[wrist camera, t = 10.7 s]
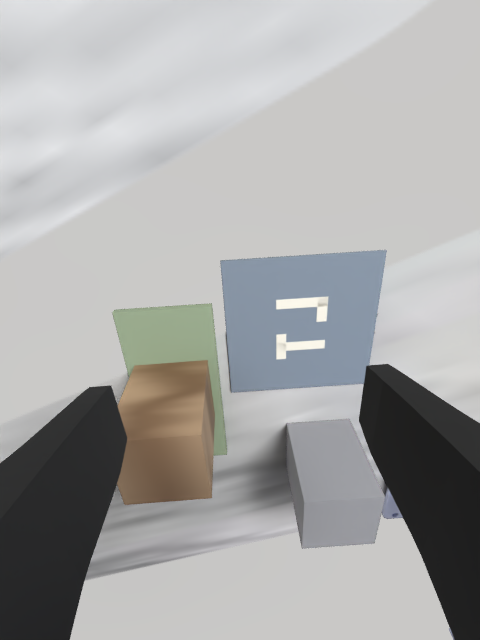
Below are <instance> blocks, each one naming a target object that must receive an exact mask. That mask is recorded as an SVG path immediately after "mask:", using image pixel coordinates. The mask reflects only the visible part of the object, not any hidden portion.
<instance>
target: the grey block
mask: <svg viewBox="0 0 480 640" xmlns="http://www.w3.org/2000/svg"><path fill="white" fill-rule="evenodd" d="M286 467H287V472H288V478H289V483H290V488H291V493H292V499H293V504H294V509H295V515H296V520H297V525H298V530H299V536H300V541H301V546H302V549H303V548H317V547H330V546H343V545H357V544H372V543H375V539H376V535H377V530H378V526H379V522H380V517H381V513H382V508H383V504H384V500H385V495H384V493H383V491H382V489H381V487H380V484H379V482H378V480H377V478H376V476H375V474H374V471H373V469H372V467H371V465H370V463H369V460H368V458H367V456H366V454H365V452H364V449H363V447H362V445H361V443H360V441H359V438H358V436H357V434H356V432H355V430H354V428H353V425H352V423H351V421H350V419H339V420H325V421H311V422H296V423H287V450H286Z"/></svg>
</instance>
